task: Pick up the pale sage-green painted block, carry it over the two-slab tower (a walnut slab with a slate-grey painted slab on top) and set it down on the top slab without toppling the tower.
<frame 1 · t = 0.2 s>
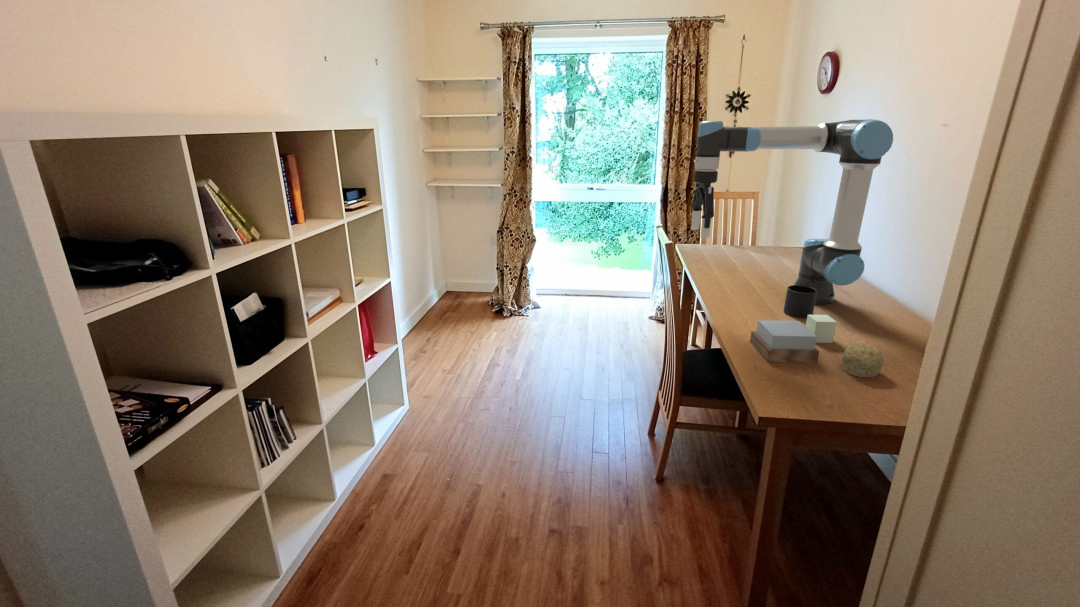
hand: (699, 233, 176), 28 cm above the table, fingers open, 13 cm apart
top slab: (784, 340, 150), point 3 cm above the table, touching bottom slab
block: (817, 339, 160), on the table
mug: (797, 312, 182), on the table
decorative item: (859, 372, 139), on the table
bottom slab: (781, 353, 151), on the table, touching top slab
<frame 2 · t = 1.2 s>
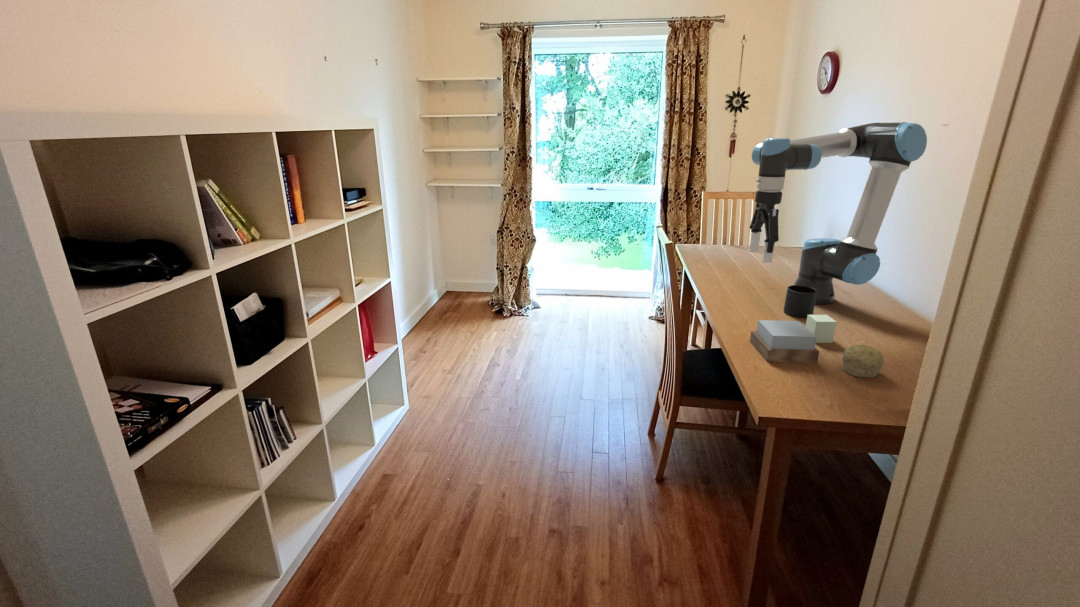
hand: (759, 257, 165), 23 cm above the table, fingers open, 13 cm apart
nothing on the table moved.
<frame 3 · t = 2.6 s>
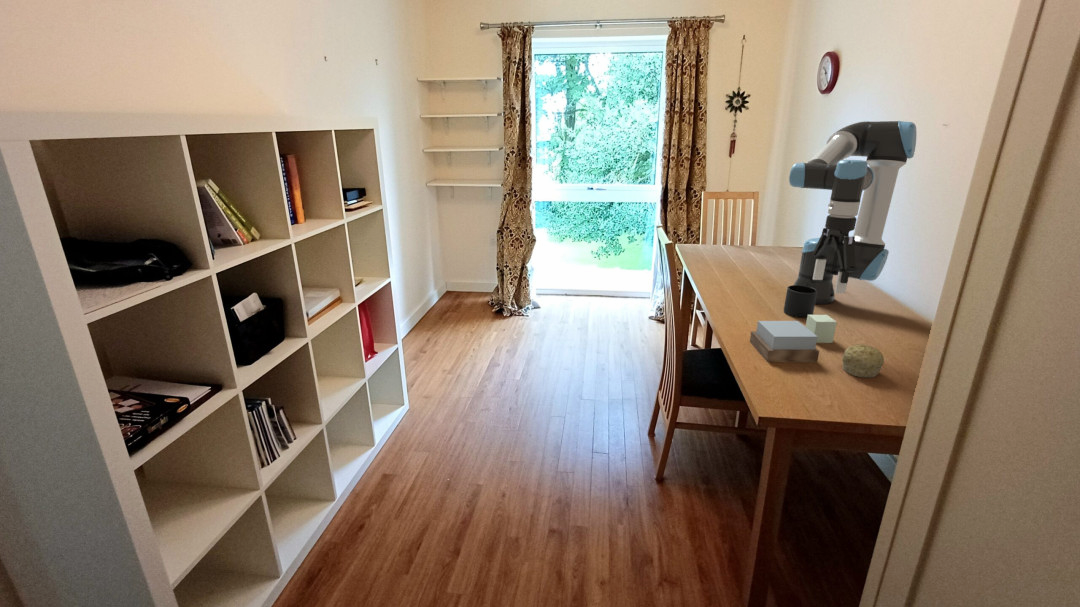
hand: (828, 286, 154), 17 cm above the table, fingers open, 13 cm apart
nothing on the table moved.
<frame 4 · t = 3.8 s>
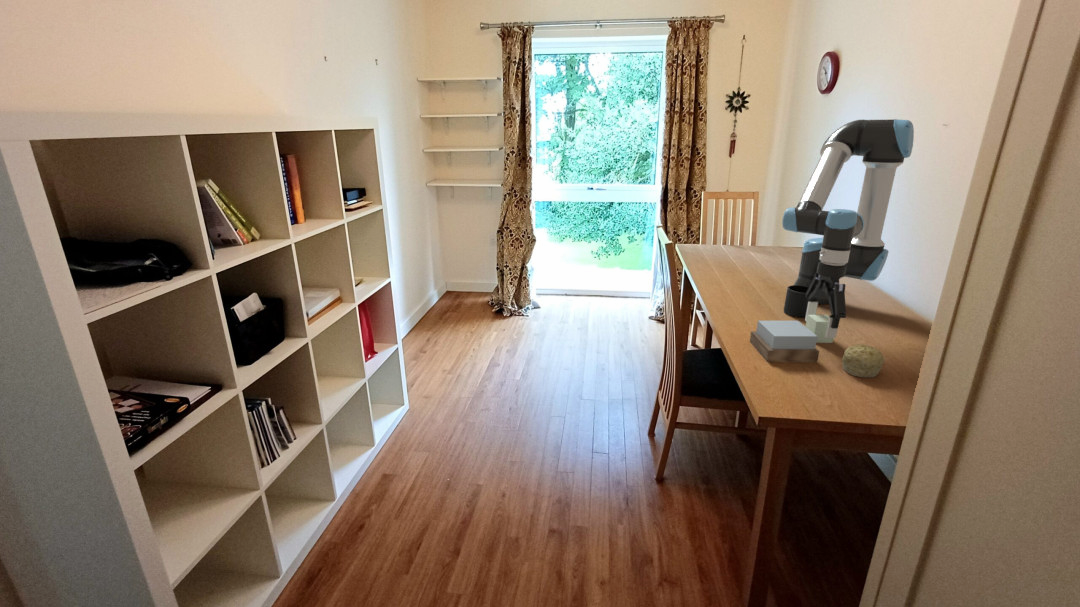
hand: (819, 328, 158), 3 cm above the table, fingers open, 13 cm apart
top slab: (784, 340, 150), point 3 cm above the table
bottom slab: (781, 353, 151), on the table
everything else where it was.
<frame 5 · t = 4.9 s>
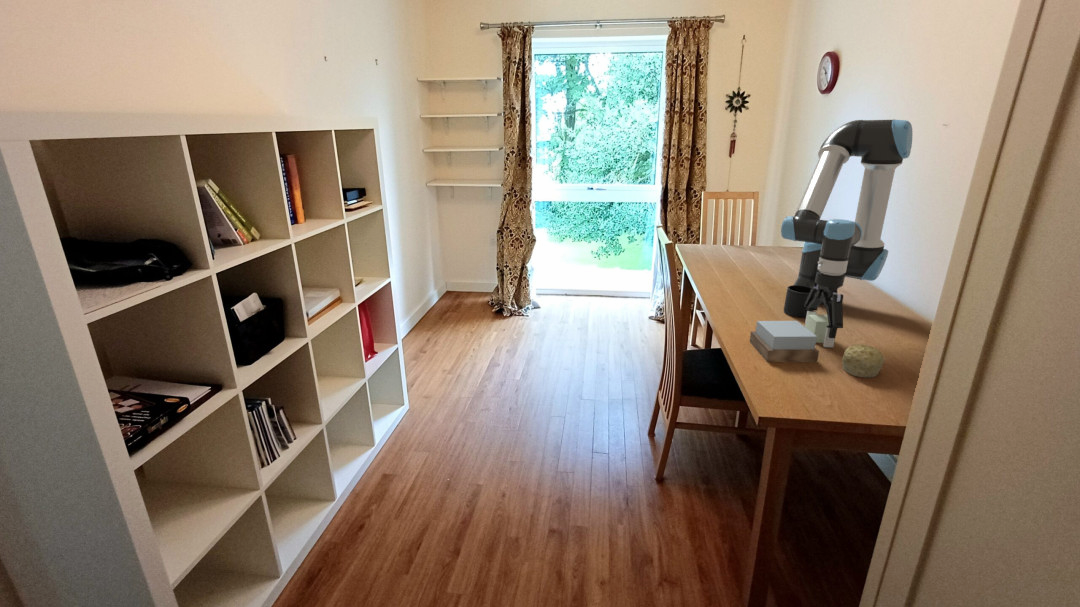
hand: (817, 338, 159), 0 cm above the table, fingers open, 12 cm apart
top slab: (783, 340, 150), point 3 cm above the table, touching bottom slab
bottom slab: (781, 353, 151), on the table, touching top slab
everything else where it was.
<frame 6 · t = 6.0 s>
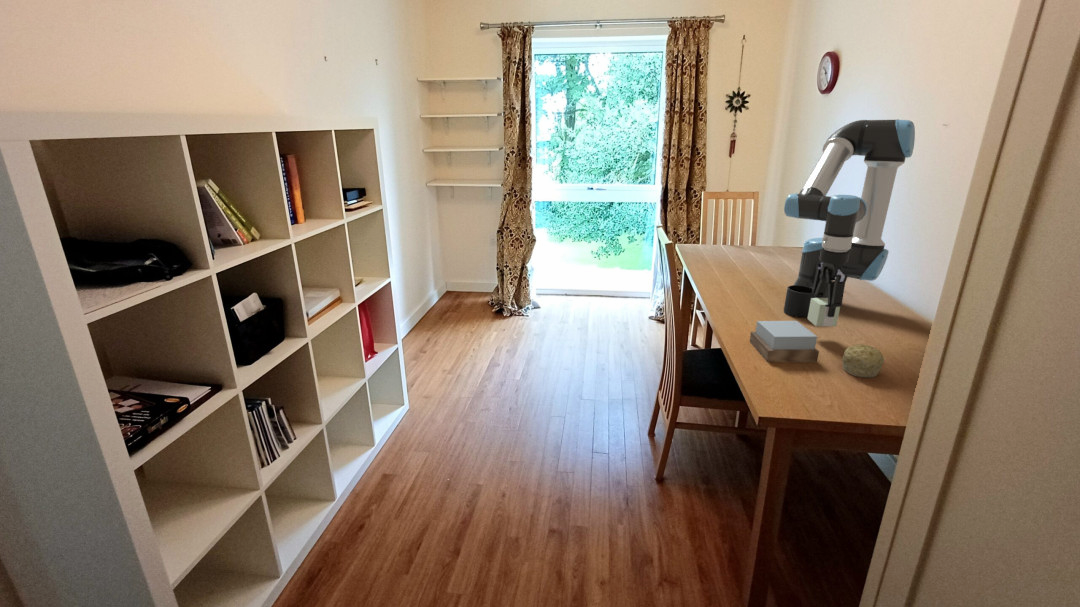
hand: (821, 321, 158), 6 cm above the table, fingers closed on block, 6 cm apart
block: (821, 322, 158), point 5 cm above the table, touching gripper
everything else where it was.
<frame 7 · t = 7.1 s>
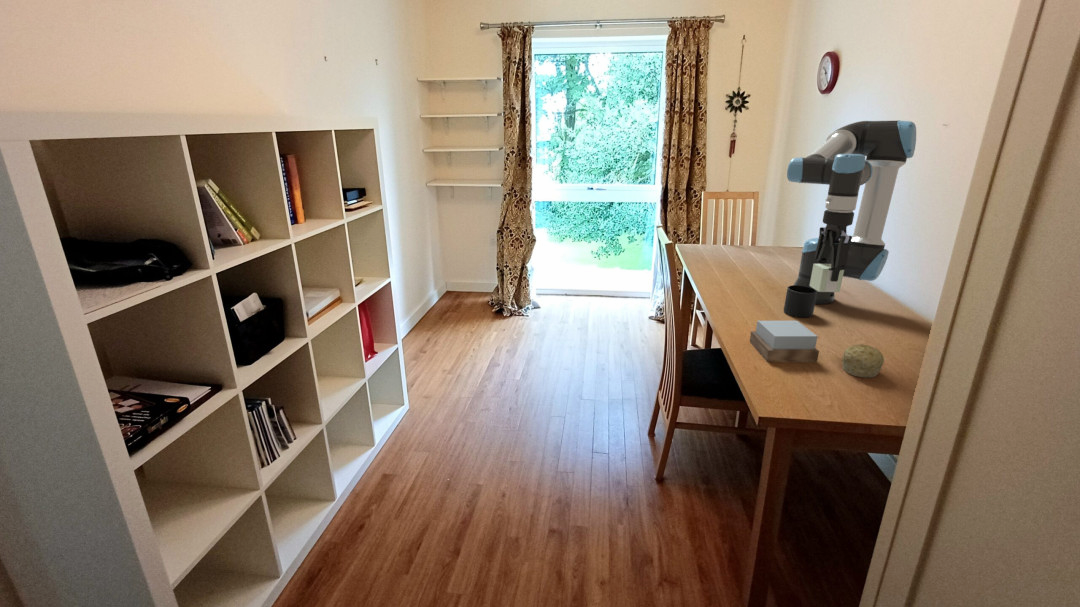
hand: (824, 287, 153), 17 cm above the table, fingers closed on block, 6 cm apart
block: (824, 288, 153), point 17 cm above the table, touching gripper
everything else where it was.
when the fingers open (8 cm above the table, at t = 10.5 s): block stays where it is, resting on top slab.
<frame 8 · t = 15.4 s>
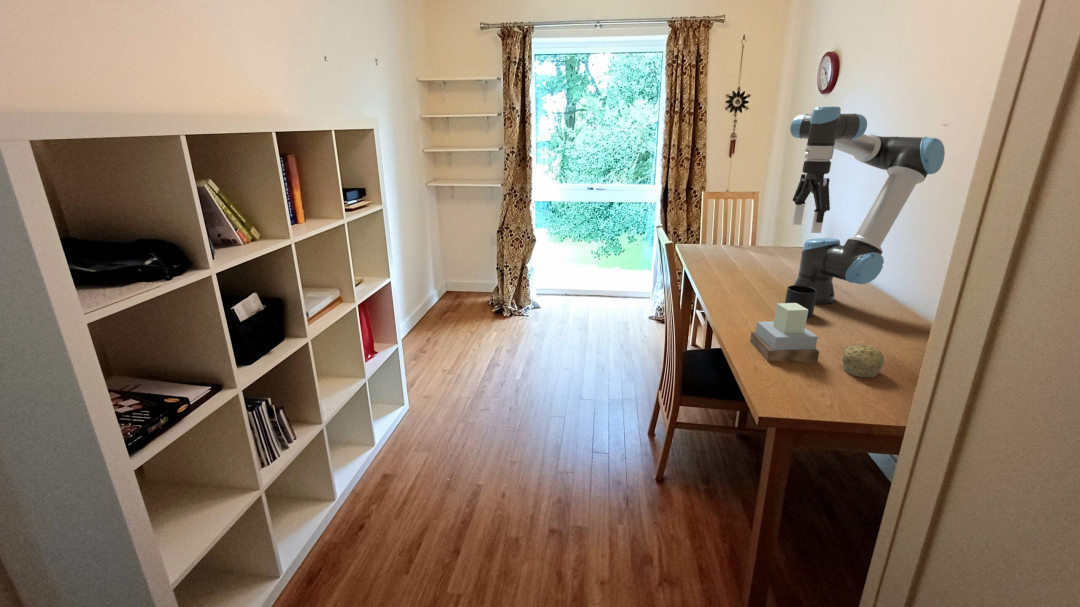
hand: (805, 228, 164), 32 cm above the table, fingers open, 13 cm apart
top slab: (784, 341, 150), point 3 cm above the table, touching block, bottom slab
block: (788, 329, 148), point 7 cm above the table, touching top slab
everything else where it was.
at the end: block 0.5 cm from the top slab (horizontally); block point 7.2 cm above the table; top slab tilted 0° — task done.
